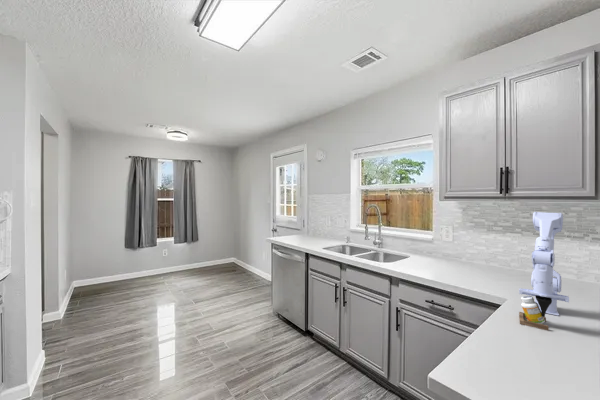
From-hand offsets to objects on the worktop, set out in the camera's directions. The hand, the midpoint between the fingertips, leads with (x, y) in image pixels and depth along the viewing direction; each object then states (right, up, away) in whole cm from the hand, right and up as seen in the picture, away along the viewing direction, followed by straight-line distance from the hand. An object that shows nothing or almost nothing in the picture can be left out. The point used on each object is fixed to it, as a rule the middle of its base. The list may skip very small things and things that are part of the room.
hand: (542, 316), depth 105 cm
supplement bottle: (-1, -3, +2) cm, 4 cm away
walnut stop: (-1, -4, +2) cm, 4 cm away
